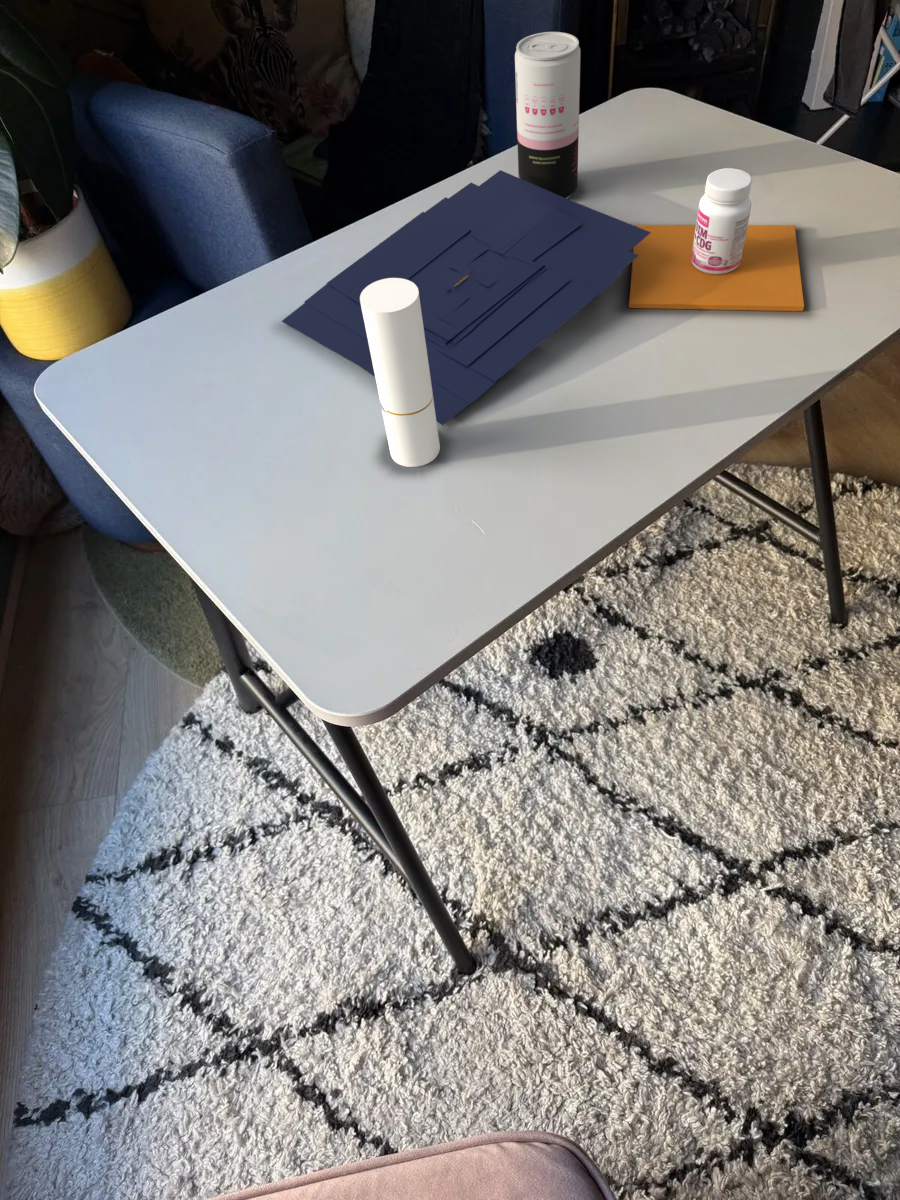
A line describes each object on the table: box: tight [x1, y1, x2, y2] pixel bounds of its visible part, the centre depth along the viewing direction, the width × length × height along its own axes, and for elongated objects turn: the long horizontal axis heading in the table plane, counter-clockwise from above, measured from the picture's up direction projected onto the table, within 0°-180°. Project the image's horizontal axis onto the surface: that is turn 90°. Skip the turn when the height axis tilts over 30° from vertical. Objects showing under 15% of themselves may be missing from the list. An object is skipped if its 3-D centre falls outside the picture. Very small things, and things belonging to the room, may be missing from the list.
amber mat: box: [628, 224, 805, 312], centre depth 87 cm, size 16×14×1 cm
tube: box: [360, 278, 441, 468], centre depth 69 cm, size 4×4×15 cm
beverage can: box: [514, 31, 581, 199], centre depth 93 cm, size 6×6×15 cm
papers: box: [281, 169, 651, 426], centre depth 86 cm, size 24×30×4 cm
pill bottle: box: [691, 167, 753, 275], centre depth 83 cm, size 5×5×8 cm
